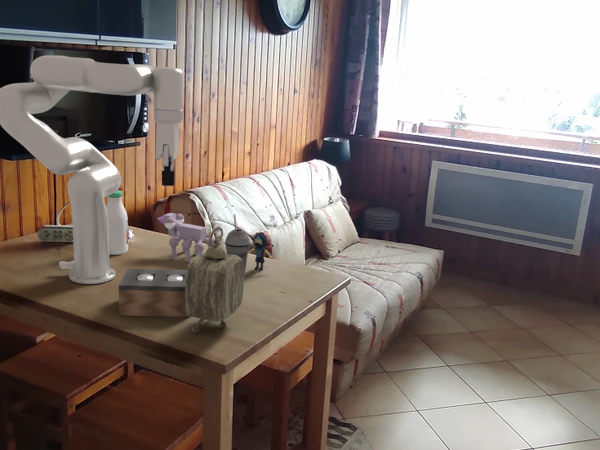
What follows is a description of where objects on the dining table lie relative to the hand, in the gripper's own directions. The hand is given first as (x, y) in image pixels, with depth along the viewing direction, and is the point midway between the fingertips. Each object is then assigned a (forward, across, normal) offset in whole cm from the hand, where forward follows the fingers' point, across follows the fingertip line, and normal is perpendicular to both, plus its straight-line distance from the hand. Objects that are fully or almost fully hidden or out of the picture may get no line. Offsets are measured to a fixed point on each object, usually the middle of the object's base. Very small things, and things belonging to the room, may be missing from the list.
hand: (168, 185), depth 163 cm
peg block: (+29, +14, -1) cm, 32 cm away
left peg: (+29, +14, -4) cm, 32 cm away
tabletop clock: (+29, +25, +14) cm, 41 cm away
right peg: (+29, +14, +4) cm, 32 cm away
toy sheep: (+29, -26, +2) cm, 40 cm away
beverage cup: (+29, -6, +19) cm, 35 cm away
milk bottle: (+29, -29, -20) cm, 46 cm away
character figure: (+29, -16, +26) cm, 42 cm away
